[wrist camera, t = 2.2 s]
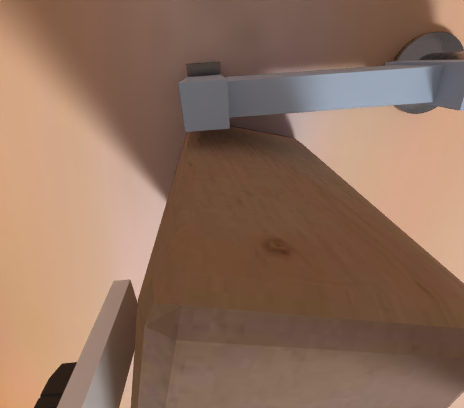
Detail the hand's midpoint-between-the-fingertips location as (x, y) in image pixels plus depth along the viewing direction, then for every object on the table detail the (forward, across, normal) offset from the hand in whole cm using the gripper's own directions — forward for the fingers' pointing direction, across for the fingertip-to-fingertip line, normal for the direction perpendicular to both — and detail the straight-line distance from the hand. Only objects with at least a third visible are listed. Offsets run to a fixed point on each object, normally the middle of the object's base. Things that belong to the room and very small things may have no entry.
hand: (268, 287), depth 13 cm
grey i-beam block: (+13, +5, +8) cm, 17 cm away
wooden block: (+14, 0, 0) cm, 14 cm away
